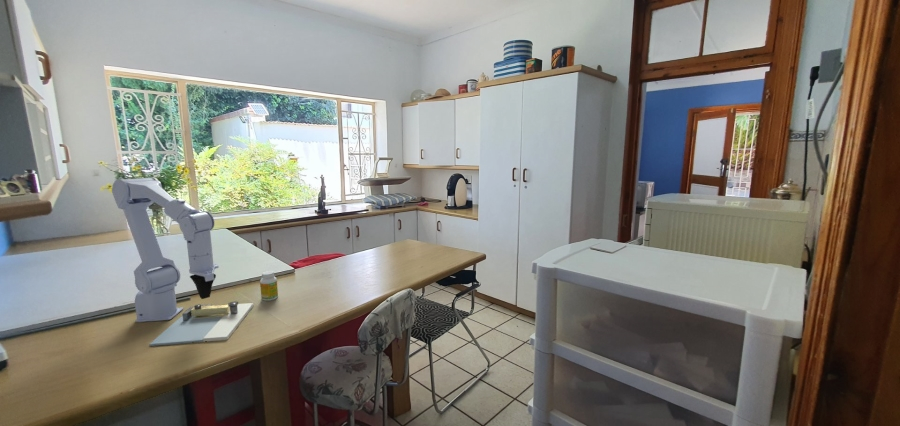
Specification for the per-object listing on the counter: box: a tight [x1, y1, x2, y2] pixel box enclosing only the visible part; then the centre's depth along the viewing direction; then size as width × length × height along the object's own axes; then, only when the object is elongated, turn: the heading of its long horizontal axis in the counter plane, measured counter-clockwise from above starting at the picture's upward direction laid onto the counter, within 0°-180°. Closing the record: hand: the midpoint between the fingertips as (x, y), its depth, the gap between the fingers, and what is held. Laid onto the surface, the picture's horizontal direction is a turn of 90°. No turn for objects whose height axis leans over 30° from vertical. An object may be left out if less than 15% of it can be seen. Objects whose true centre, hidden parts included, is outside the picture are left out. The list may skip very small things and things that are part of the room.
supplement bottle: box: [259, 270, 279, 302], centre depth 124 cm, size 5×5×10 cm
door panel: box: [149, 302, 255, 347], centre depth 106 cm, size 19×22×1 cm
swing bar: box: [191, 303, 230, 316], centre depth 109 cm, size 10×2×3 cm, turn 103°
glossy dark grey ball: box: [227, 300, 239, 315], centre depth 111 cm, size 3×3×4 cm
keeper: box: [181, 303, 213, 321], centre depth 109 cm, size 6×6×2 cm
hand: (205, 297), depth 103 cm, fingers closed
